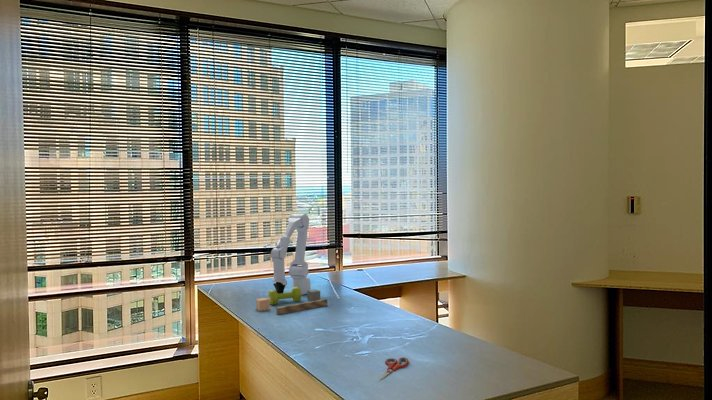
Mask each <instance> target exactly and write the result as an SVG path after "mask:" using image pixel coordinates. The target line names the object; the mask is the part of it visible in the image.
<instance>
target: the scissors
mask: <svg viewBox="0 0 712 400" xmlns="http://www.w3.org/2000/svg"><path fill="white" fill-rule="evenodd" d="M402 362H404V363H403V364H402ZM384 363H385V365H386V366H387V368H386V369H387V370H386V371H385V373H384V374H383V375H382V376H380V377H379V379H378V380H377V382H376V383H379V382H380V381H382V380H383V379H385V378H386V377H388V376H389V375H390V374H392V373H393V372H396V371H397V370H399V369H404V368H406V367H407V366H408V365H409V359H408V358H407V357H404V356H403V357H399V358H398V360H397V359H396V358H394V357H393V358H392V357H391V358H387V359H385V360H384Z"/></svg>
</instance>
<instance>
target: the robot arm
mask: <svg viewBox="0 0 712 400" xmlns="http://www.w3.org/2000/svg"><path fill="white" fill-rule="evenodd" d="M287 222H288V224H287V227H286V230H285V232H284V234H283V235H282V236H280V237H279V239H278V241H277V243H276V245H275V247H274V248H272V249H271V251H270V254H269V255H270V258H271V261H272V266H273V267H272V268H273V277H272V278H271V282H273V287H274V288H275V289H274V290H275V291H276V292H277V293H279V294H280V293H285V291H284V290H285V287H286V286H287V285H288V280H286V275H285V274H286V273H285V271H286V270H285V269H286V268H285V258H287V251H288V247H289V246H290V243H291V237H292V235H293V234H294V232H295V231H297V238H296V244H295V245H296V246H295V253H294V259H293V260H292V261H291V262H290V266H289V268H288V275H289V276H290V278H291V280H292V281H291V282H292V288H293V287H299V288H300V290H301V296H302V295H307V291H309V290H312V288H311V278H310V277H309V264H308V262H307V261H305V258H306V247H307V238H308V231H309V230H308V229H309V227H310V226H309V225H310V217H309V215H308V214H307V213H291V214H290V215H289V218H288V219H287Z"/></svg>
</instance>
